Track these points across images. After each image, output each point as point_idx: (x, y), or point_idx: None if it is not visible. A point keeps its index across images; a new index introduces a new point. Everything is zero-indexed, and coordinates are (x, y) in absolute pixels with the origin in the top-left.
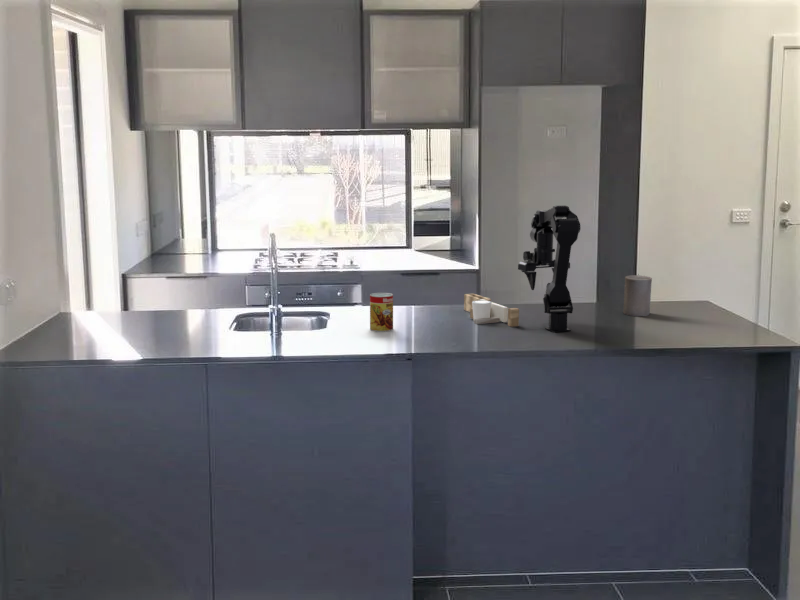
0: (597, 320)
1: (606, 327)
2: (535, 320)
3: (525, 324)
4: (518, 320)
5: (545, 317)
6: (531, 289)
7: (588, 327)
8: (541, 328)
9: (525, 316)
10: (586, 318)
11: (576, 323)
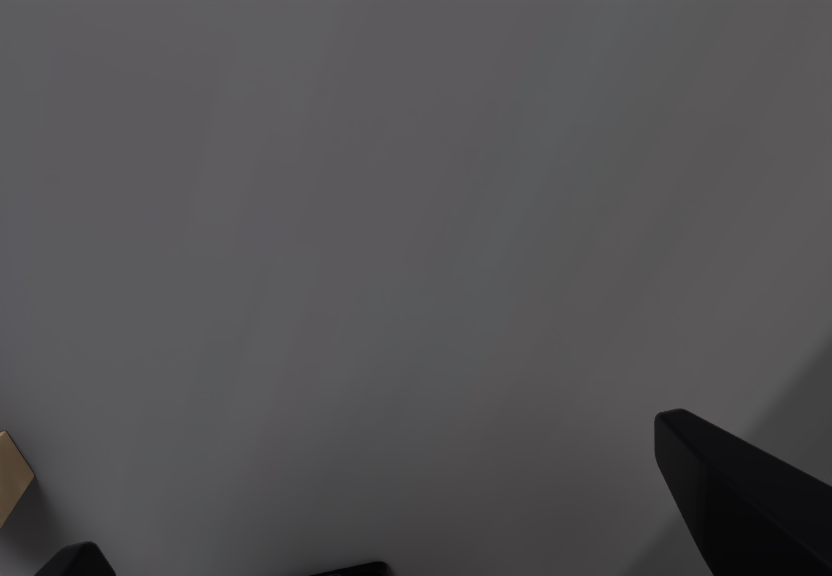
0: (822, 369)
1: (703, 572)
2: (265, 276)
3: (115, 425)
4: (4, 516)
5: (435, 142)
6: (64, 550)
7: (589, 562)
8: (226, 561)
9: (202, 19)
10: (801, 276)
11: (585, 445)
